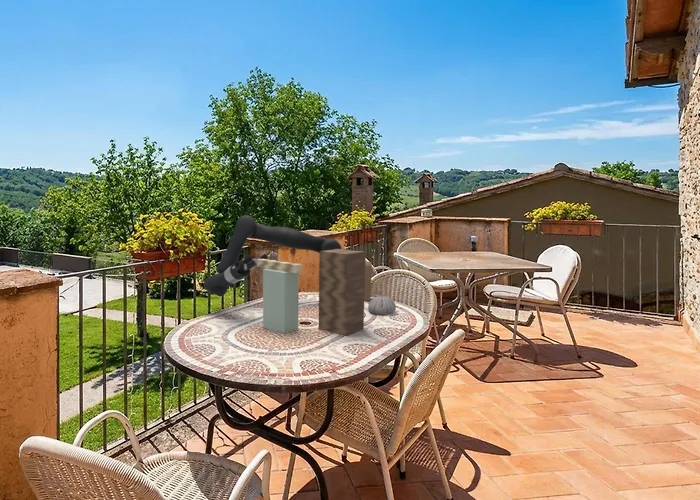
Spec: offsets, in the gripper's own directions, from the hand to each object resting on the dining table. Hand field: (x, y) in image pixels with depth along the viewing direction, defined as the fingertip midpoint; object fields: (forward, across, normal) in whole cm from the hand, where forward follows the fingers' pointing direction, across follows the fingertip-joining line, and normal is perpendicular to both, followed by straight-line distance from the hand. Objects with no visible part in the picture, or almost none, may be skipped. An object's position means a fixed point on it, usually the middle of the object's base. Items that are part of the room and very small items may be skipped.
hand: (259, 256), depth 184 cm
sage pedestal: (-3, 0, +31) cm, 31 cm away
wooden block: (-7, +65, +28) cm, 71 cm away
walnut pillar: (+14, +15, +40) cm, 45 cm away
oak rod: (+8, 0, +9) cm, 12 cm away
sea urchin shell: (+12, +49, +40) cm, 65 cm away
